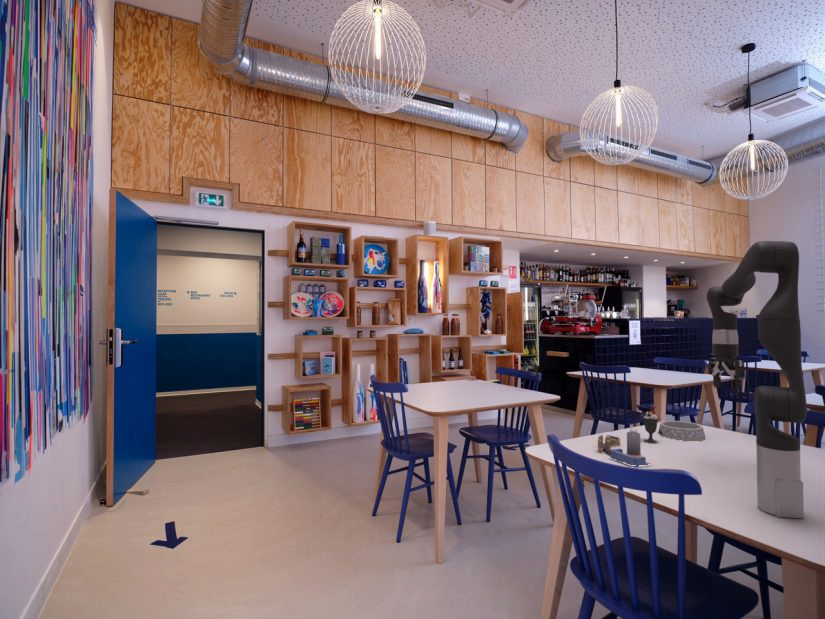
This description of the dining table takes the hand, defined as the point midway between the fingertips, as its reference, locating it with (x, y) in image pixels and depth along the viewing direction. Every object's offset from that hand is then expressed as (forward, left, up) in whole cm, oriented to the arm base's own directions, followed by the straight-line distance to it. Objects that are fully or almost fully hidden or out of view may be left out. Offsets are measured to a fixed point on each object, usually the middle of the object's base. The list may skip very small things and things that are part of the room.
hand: (726, 388), depth 159 cm
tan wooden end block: (+24, +31, -27) cm, 48 cm away
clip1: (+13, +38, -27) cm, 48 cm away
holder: (+1, +32, -27) cm, 42 cm away
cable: (+16, +35, -27) cm, 47 cm away
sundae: (+30, +14, -27) cm, 43 cm away
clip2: (+19, +36, -27) cm, 49 cm away
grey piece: (+2, +31, -26) cm, 40 cm away
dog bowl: (+41, -3, -28) cm, 50 cm away
